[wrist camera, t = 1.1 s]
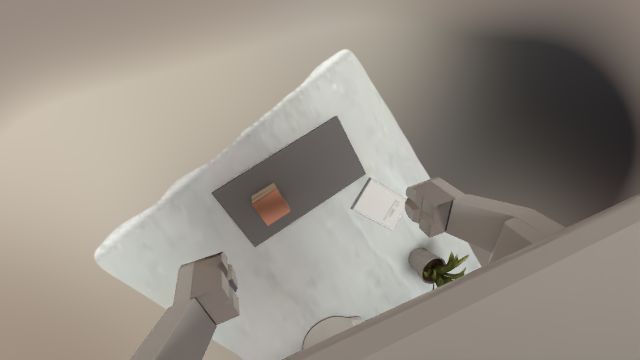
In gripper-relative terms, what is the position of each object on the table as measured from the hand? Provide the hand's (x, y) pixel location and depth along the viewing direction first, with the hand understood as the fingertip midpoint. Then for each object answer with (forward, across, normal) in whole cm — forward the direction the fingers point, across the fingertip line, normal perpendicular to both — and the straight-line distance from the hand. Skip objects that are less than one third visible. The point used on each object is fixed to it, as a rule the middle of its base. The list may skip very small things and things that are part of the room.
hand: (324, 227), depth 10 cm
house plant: (+25, +30, -50) cm, 63 cm away
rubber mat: (+34, +4, -20) cm, 40 cm away
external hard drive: (+31, +22, -31) cm, 49 cm away
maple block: (+33, -2, -22) cm, 39 cm away
